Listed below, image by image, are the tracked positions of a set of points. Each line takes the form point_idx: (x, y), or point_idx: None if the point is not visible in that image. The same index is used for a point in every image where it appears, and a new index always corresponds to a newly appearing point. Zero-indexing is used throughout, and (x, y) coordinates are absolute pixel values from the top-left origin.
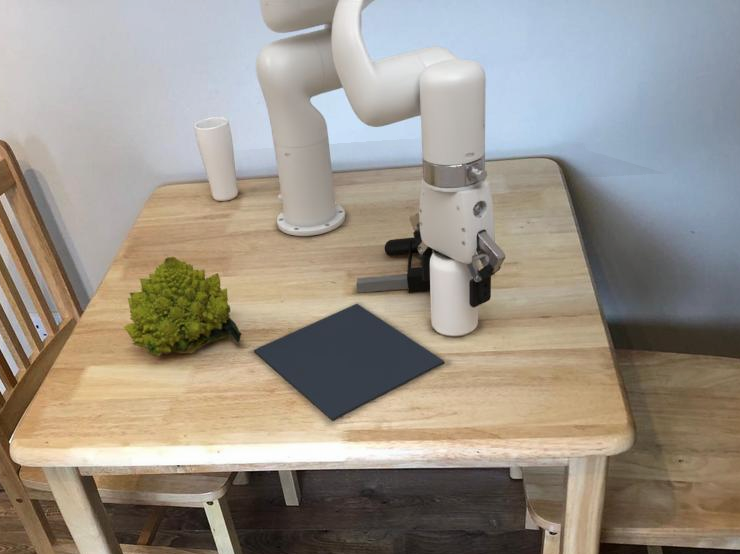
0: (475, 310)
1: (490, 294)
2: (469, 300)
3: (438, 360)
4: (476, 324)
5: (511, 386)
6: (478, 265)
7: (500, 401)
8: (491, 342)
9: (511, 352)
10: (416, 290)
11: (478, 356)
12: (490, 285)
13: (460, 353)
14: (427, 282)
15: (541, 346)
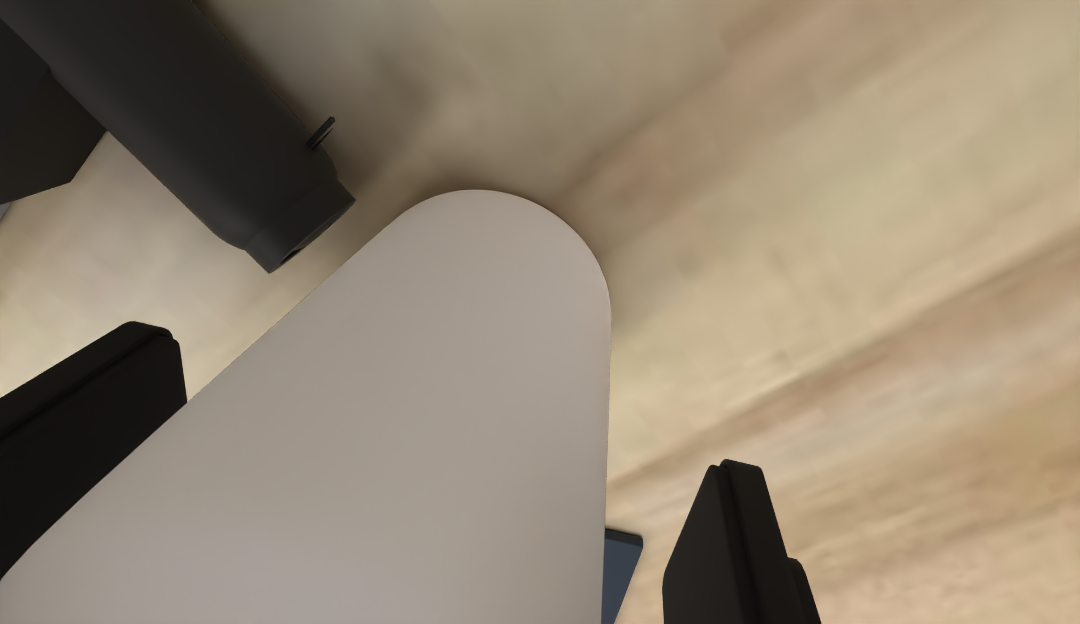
0: (609, 364)
1: (769, 497)
2: (665, 618)
3: (620, 554)
4: (607, 293)
5: (983, 538)
6: (561, 611)
7: (971, 614)
8: (742, 329)
9: (883, 349)
10: (77, 156)
11: (744, 444)
12: (790, 576)
13: (658, 461)
14: (63, 121)
15: (1036, 218)
